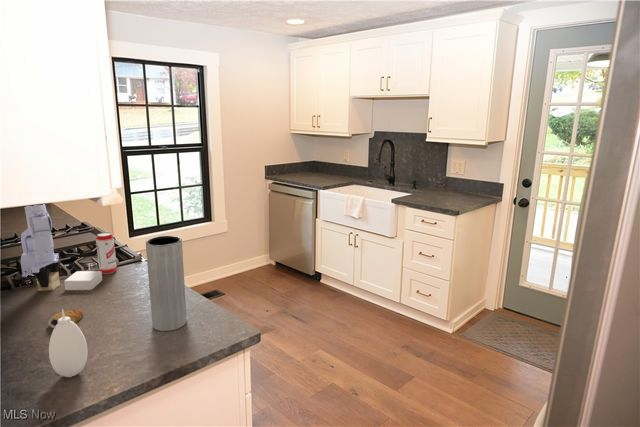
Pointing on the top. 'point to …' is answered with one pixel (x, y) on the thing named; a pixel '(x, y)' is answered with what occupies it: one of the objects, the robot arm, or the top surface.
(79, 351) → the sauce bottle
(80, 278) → the white block
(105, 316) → the top surface
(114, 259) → the beer can
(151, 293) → the vase
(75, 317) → the pastry
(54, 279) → the maple cube
